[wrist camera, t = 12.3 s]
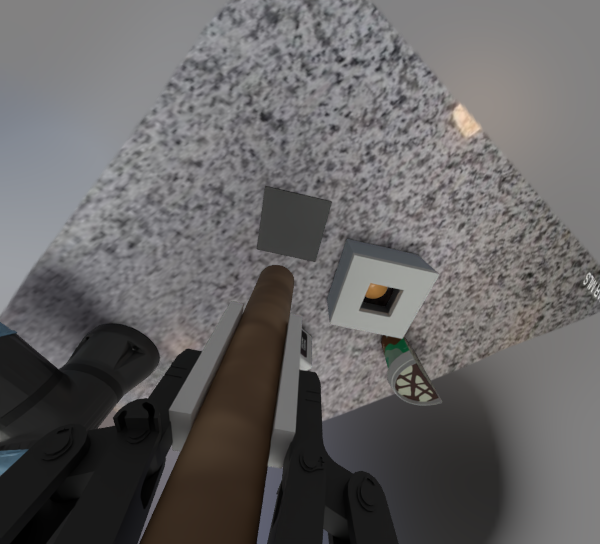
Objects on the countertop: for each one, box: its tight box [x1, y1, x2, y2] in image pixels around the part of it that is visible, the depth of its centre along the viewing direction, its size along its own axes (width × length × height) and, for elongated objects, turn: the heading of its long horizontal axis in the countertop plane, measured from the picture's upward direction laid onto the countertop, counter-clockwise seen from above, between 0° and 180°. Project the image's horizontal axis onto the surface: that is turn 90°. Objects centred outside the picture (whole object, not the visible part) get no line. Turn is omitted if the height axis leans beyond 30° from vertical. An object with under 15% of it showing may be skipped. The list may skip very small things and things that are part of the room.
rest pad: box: [257, 186, 332, 262], centre depth 35 cm, size 10×10×1 cm
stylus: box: [139, 265, 294, 544], centre depth 12 cm, size 3×3×15 cm
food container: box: [381, 335, 442, 405], centre depth 41 cm, size 12×6×10 cm, turn 35°
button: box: [365, 283, 387, 299], centre depth 37 cm, size 4×4×3 cm
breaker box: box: [327, 239, 439, 339], centre depth 36 cm, size 12×12×7 cm
